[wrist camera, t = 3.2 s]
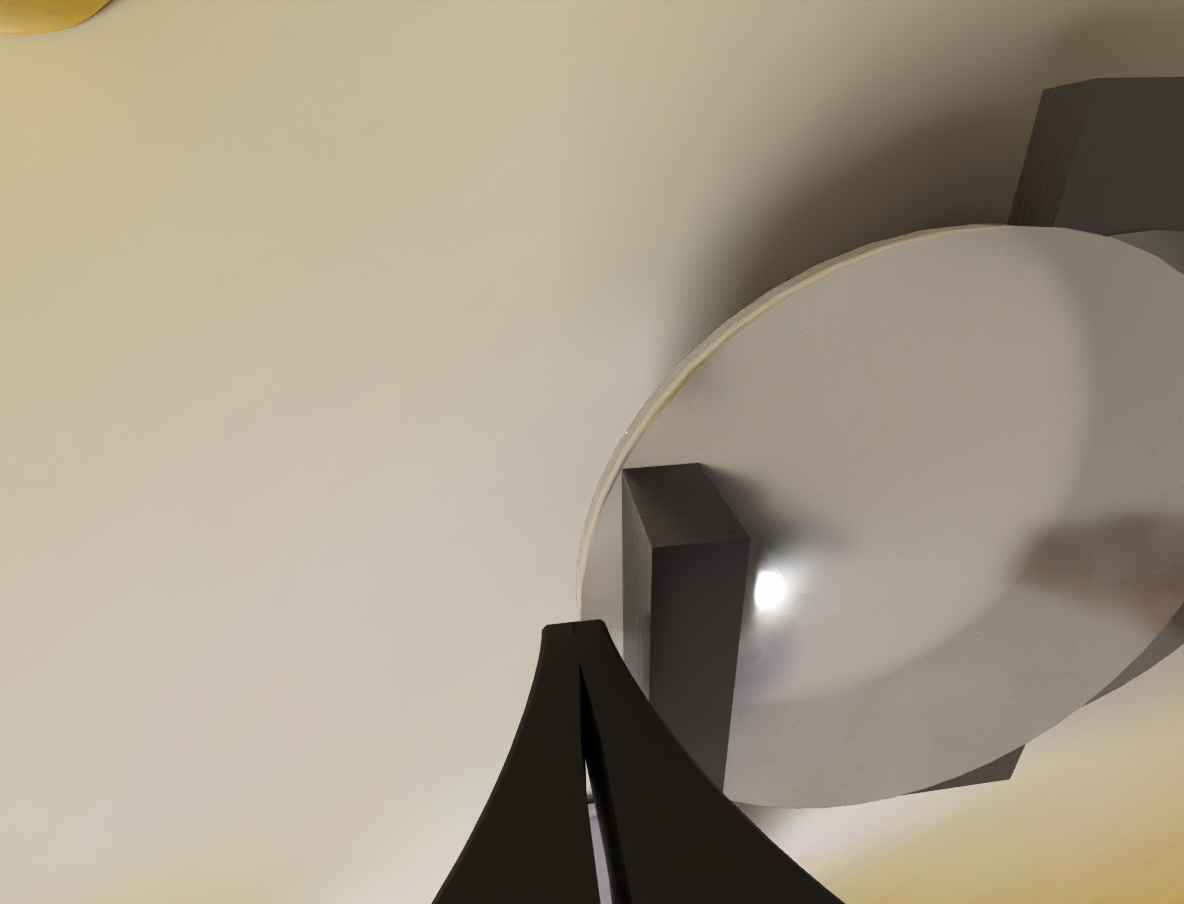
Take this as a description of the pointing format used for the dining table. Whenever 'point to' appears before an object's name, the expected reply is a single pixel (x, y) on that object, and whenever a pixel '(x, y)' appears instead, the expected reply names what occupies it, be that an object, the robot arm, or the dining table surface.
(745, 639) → the cooker lid
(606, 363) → the dining table surface
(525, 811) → the robot arm
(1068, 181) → the cooker pot
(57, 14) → the plant pot
